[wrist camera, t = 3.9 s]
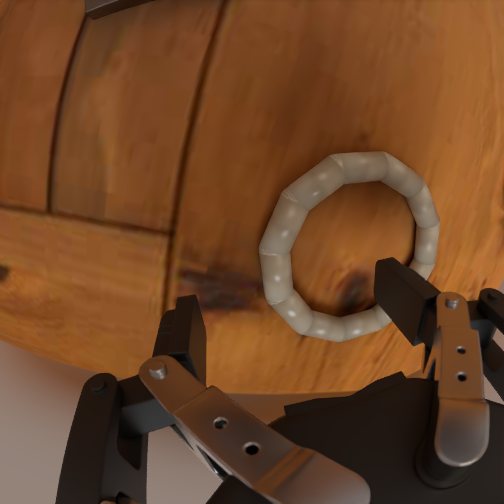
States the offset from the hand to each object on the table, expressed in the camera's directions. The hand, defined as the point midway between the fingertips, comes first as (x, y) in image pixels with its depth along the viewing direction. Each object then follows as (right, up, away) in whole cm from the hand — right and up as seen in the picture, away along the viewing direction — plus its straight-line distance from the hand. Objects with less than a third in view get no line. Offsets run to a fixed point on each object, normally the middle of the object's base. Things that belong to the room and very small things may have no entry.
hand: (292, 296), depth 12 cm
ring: (+4, +2, +3) cm, 5 cm away
